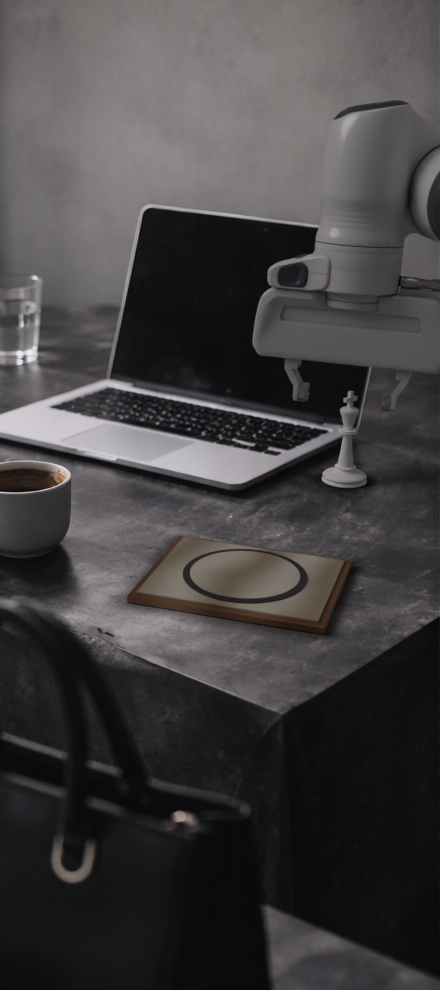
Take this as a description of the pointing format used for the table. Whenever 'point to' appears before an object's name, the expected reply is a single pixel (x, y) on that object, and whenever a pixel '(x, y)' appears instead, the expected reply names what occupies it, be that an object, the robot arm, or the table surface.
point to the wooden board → (245, 584)
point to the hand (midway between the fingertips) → (344, 405)
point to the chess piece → (346, 452)
